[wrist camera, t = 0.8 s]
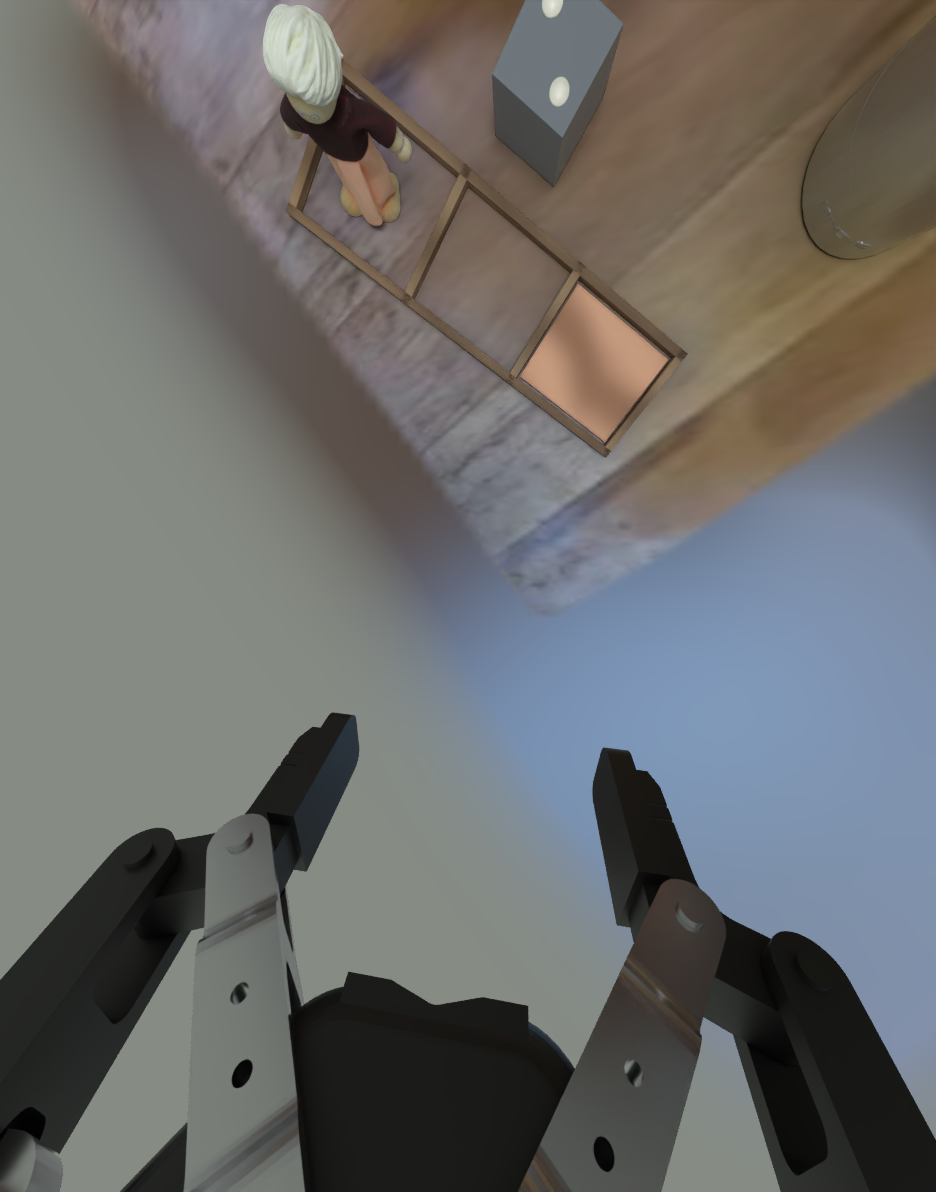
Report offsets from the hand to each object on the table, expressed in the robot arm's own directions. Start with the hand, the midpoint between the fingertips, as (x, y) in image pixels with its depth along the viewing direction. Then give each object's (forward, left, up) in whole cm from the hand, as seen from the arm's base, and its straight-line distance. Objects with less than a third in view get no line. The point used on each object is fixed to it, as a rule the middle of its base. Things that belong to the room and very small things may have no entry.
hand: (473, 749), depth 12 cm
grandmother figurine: (-15, -22, -27) cm, 38 cm away
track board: (-15, -12, -27) cm, 34 cm away
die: (-25, -14, -27) cm, 39 cm away
